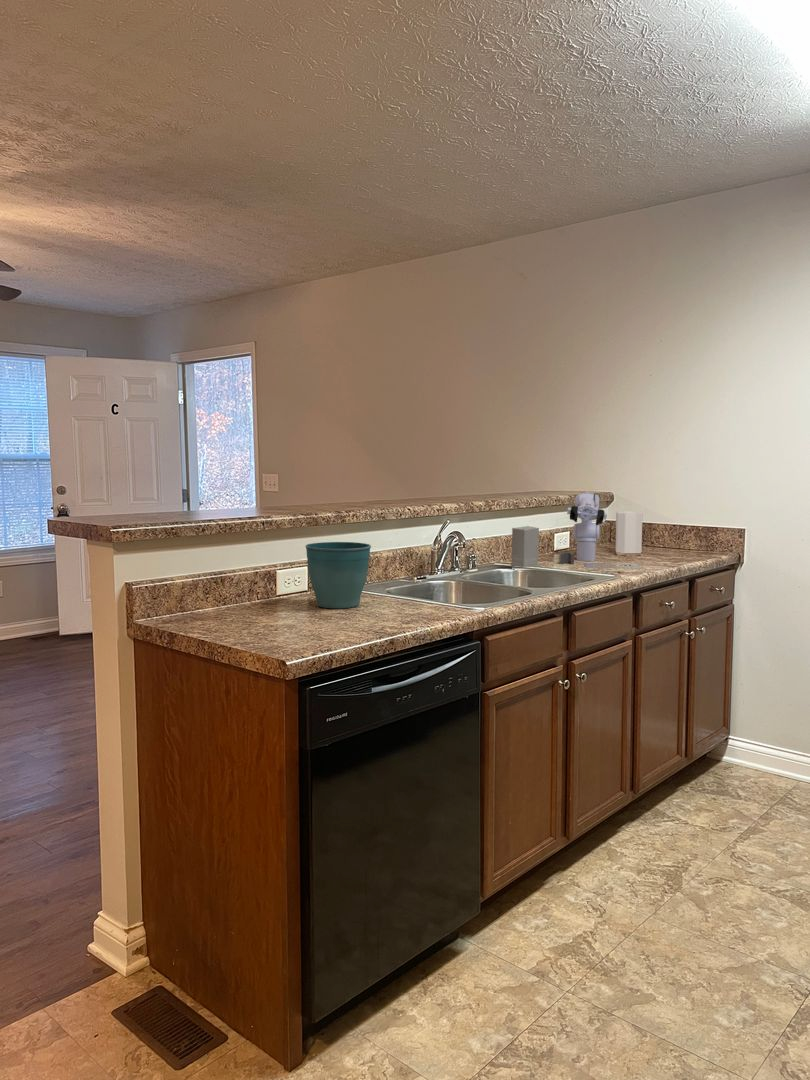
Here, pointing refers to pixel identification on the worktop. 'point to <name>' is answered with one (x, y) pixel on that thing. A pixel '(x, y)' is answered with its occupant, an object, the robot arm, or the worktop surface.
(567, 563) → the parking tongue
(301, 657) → the worktop surface
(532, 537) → the skincare box
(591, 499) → the robot arm
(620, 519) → the white upright block
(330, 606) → the flower pot
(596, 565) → the rail board
